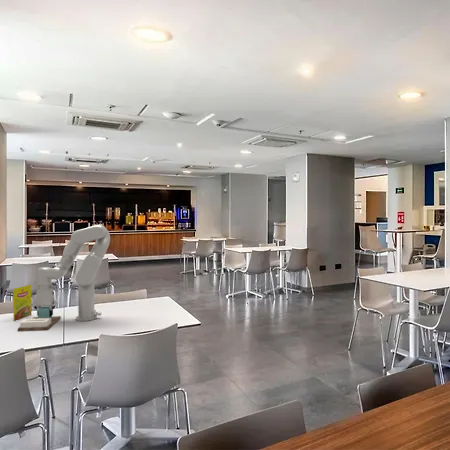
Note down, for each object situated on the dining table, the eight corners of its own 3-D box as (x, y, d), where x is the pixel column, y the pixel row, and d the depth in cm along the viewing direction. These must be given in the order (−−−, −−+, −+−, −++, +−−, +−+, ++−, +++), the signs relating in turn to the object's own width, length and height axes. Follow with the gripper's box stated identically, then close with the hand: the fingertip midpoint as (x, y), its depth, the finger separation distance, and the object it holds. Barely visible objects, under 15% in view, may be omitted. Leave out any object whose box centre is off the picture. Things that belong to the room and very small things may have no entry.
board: (60, 318, 235) (60, 316, 234) (47, 330, 211) (47, 327, 211) (33, 319, 232) (33, 317, 232) (17, 331, 209) (17, 328, 209)
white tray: (51, 322, 219) (51, 317, 219) (46, 326, 212) (46, 321, 211) (25, 323, 218) (25, 318, 218) (20, 327, 210) (20, 322, 210)
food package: (14, 321, 228) (14, 288, 227) (12, 321, 228) (12, 288, 227) (32, 315, 243) (31, 284, 242) (30, 315, 243) (30, 284, 242)
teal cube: (51, 316, 233) (51, 306, 232) (48, 319, 227) (48, 308, 227) (41, 317, 232) (41, 306, 232) (38, 319, 226) (38, 308, 226)
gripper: (61, 285, 234) (61, 314, 234) (32, 286, 232) (32, 315, 232) (57, 288, 226) (57, 317, 227) (27, 288, 224) (27, 318, 225)
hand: (45, 316), depth 229 cm, fingers closed on teal cube, 6 cm apart
